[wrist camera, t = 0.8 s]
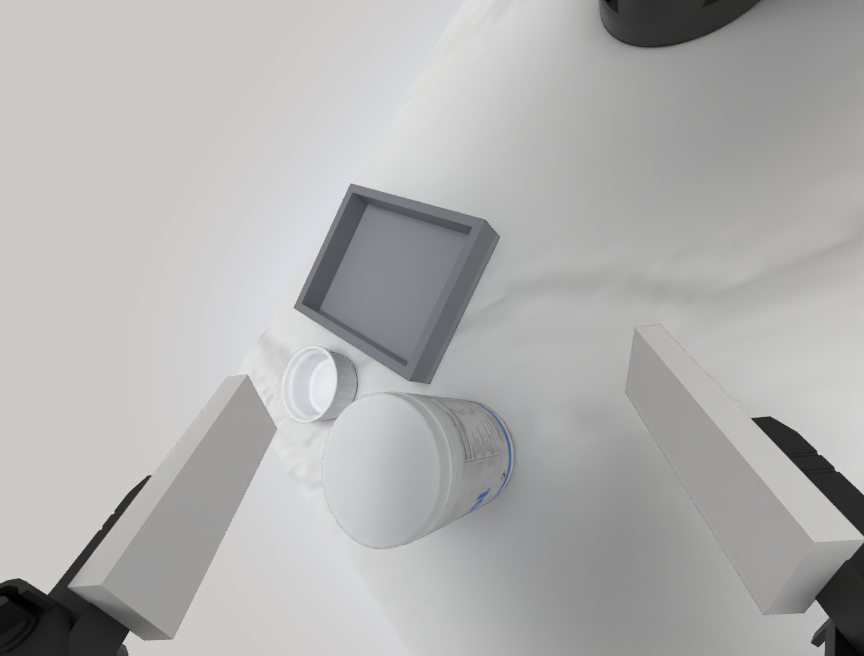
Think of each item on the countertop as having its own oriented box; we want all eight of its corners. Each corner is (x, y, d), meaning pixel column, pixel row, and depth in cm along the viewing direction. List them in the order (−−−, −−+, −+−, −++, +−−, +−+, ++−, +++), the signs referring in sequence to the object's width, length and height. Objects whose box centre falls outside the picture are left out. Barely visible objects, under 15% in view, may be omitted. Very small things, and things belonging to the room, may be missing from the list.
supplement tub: (461, 525, 34) (354, 587, 22) (410, 438, 39) (298, 449, 26) (540, 463, 32) (472, 494, 20) (476, 379, 36) (388, 360, 24)
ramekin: (320, 344, 48) (293, 338, 45) (370, 359, 44) (345, 354, 40) (301, 410, 48) (272, 410, 44) (350, 432, 43) (322, 434, 39)
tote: (371, 199, 49) (350, 183, 46) (499, 236, 38) (485, 219, 35) (317, 315, 50) (293, 307, 46) (429, 383, 39) (408, 380, 36)
